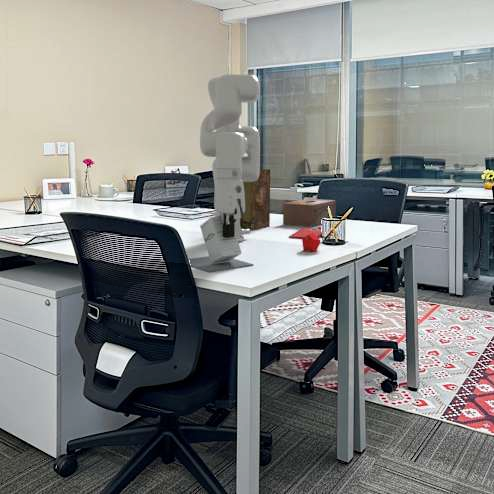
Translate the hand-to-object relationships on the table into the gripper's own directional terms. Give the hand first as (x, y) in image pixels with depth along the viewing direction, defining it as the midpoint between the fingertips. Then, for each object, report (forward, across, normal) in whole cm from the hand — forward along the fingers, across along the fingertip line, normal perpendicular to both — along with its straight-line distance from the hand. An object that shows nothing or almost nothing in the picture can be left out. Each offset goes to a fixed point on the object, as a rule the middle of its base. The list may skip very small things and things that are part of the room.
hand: (228, 237), depth 171 cm
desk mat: (+9, +6, +1) cm, 11 cm away
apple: (+9, +5, -38) cm, 40 cm away
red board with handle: (+9, +31, -66) cm, 74 cm away
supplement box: (+7, +1, 0) cm, 7 cm away
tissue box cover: (+8, +57, -87) cm, 104 cm away
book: (+8, +58, -56) cm, 81 cm away
